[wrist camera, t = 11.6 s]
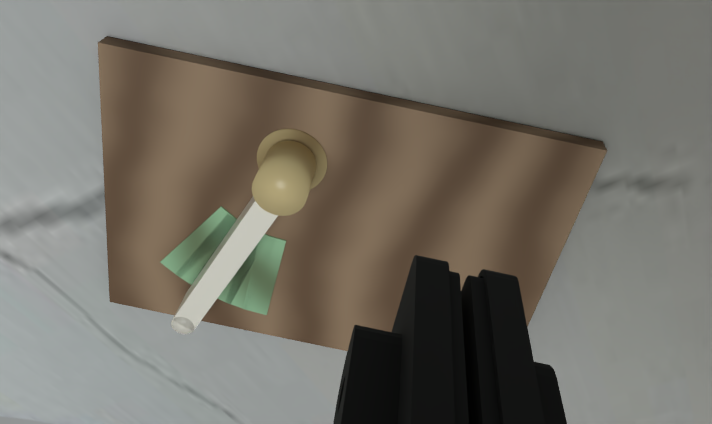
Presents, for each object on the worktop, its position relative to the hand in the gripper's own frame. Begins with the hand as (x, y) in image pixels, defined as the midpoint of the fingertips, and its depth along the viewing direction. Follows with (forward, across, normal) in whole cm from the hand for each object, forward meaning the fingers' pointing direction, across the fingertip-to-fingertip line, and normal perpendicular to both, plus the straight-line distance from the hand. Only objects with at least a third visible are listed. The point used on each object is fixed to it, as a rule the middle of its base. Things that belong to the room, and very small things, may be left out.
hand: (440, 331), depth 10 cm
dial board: (+27, +3, +17) cm, 32 cm away
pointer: (+26, +9, +18) cm, 32 cm away
